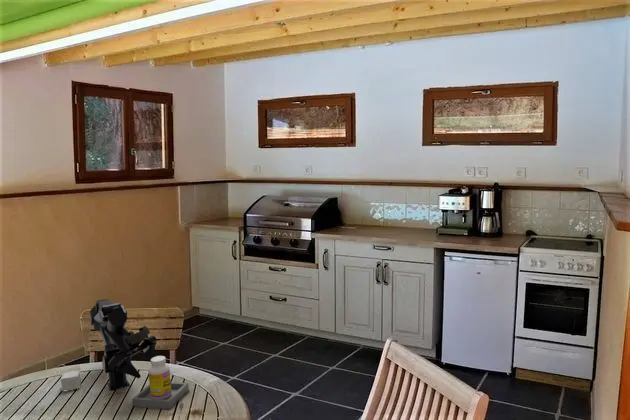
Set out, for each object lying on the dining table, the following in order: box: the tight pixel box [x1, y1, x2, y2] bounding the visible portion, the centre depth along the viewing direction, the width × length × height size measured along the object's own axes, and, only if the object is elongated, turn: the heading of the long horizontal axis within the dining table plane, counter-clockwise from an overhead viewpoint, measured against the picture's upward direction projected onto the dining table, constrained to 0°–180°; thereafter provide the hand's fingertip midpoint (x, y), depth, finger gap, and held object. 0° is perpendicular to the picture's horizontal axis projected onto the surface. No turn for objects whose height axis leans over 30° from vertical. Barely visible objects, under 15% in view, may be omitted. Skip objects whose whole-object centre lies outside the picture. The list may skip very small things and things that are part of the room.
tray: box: [131, 381, 190, 410], centre depth 172 cm, size 13×13×2 cm
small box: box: [60, 369, 82, 392], centre depth 184 cm, size 6×6×5 cm
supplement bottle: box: [148, 355, 172, 399], centre depth 172 cm, size 7×7×13 cm
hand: (149, 371), depth 174 cm, fingers open, 9 cm apart
